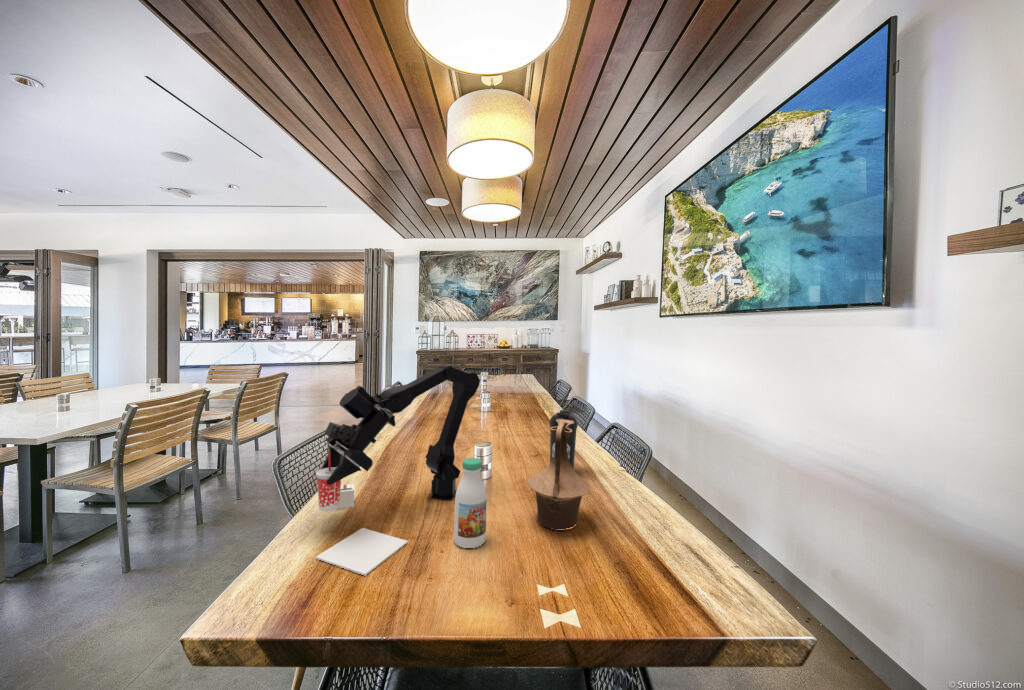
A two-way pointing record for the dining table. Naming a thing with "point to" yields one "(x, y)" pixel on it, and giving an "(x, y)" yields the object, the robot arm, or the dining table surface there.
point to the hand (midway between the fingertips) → (323, 480)
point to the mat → (362, 551)
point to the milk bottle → (470, 506)
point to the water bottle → (572, 438)
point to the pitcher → (559, 485)
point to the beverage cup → (328, 489)
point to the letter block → (346, 496)
